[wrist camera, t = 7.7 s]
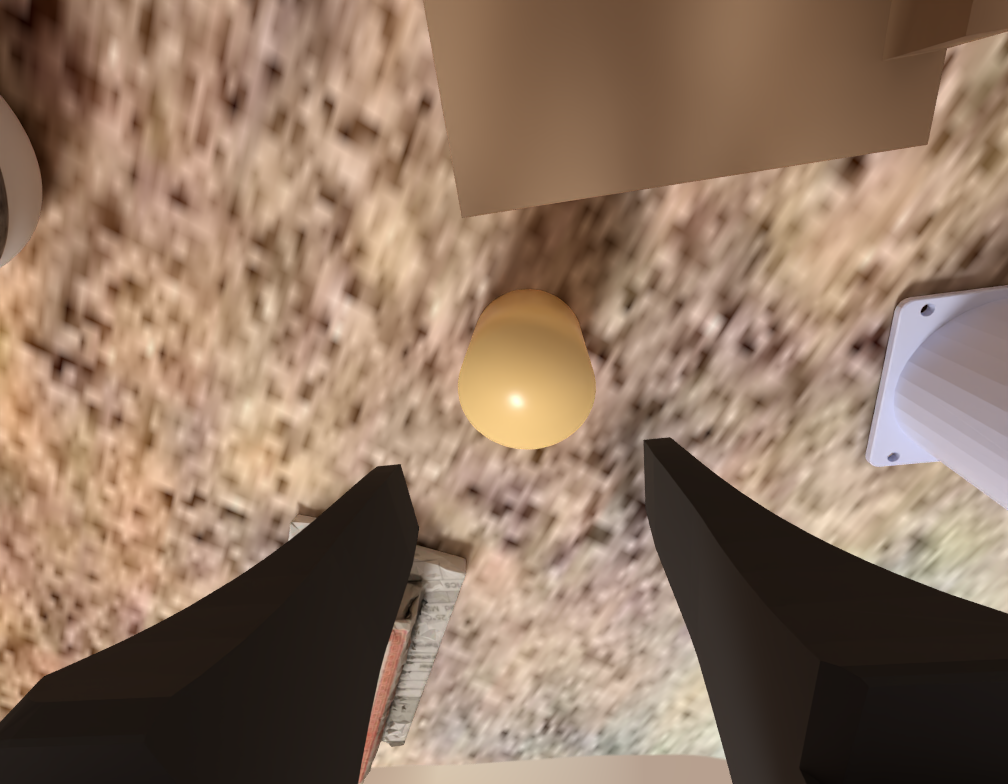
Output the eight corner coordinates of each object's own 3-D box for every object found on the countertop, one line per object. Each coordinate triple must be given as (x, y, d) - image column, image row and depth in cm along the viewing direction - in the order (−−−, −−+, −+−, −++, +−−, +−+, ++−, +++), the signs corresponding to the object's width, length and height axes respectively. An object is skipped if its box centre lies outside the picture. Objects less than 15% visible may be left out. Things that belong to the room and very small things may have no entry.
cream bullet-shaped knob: (577, 281, 20) (590, 315, 15) (586, 385, 22) (600, 442, 17) (464, 297, 20) (445, 334, 16) (483, 396, 22) (471, 455, 18)
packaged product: (390, 806, 30) (236, 771, 30) (409, 725, 35) (274, 693, 34) (459, 625, 23) (252, 572, 22) (471, 551, 27) (299, 505, 26)
